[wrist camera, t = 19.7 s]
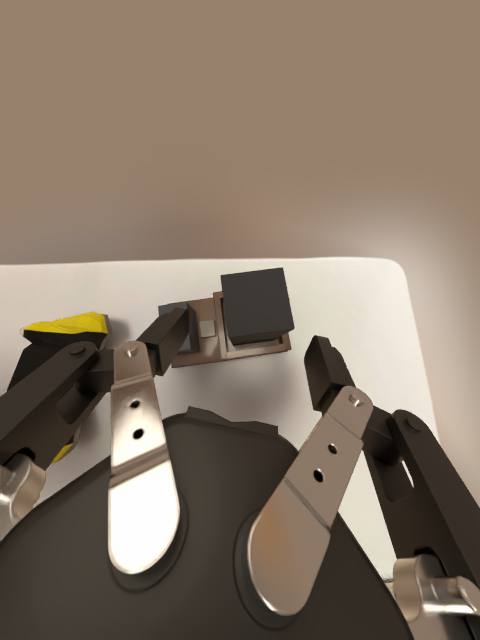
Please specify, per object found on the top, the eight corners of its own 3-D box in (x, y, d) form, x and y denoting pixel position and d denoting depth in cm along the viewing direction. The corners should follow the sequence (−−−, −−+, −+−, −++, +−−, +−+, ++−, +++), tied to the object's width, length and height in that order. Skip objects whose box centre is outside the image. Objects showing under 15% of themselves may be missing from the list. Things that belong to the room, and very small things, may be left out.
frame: (175, 367, 24) (156, 370, 18) (171, 306, 25) (152, 292, 20) (285, 351, 24) (298, 349, 18) (274, 292, 25) (282, 275, 20)
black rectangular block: (233, 345, 23) (227, 337, 14) (228, 306, 24) (220, 274, 15) (274, 340, 23) (294, 328, 14) (267, 301, 24) (282, 266, 15)
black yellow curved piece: (135, 322, 25) (63, 309, 25) (105, 312, 19) (15, 296, 20) (98, 446, 22) (18, 430, 22) (51, 475, 16) (-54, 453, 17)
